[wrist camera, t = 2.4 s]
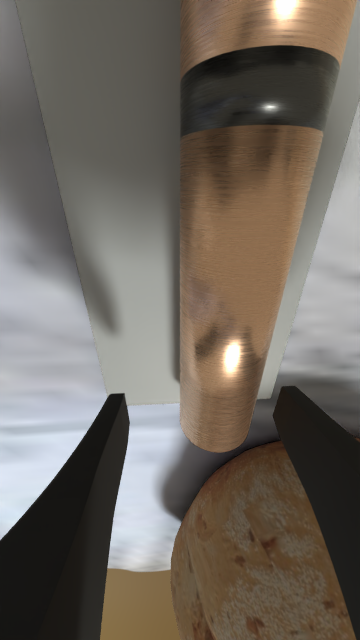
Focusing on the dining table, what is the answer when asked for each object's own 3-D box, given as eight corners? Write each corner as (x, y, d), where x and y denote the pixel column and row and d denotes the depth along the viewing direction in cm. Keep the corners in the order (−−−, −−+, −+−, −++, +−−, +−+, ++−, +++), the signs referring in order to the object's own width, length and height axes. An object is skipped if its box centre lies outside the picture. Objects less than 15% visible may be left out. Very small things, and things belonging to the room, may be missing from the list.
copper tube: (216, 382, 16) (264, 426, 13) (166, 410, 14) (210, 468, 11) (267, -66, 7) (471, -257, 4) (142, -172, 5) (368, -739, 2)
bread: (292, 544, 34) (370, 762, 21) (141, 535, 29) (123, 819, 16) (451, 445, 22) (856, 811, 9) (242, 397, 17) (507, 1117, 4)
